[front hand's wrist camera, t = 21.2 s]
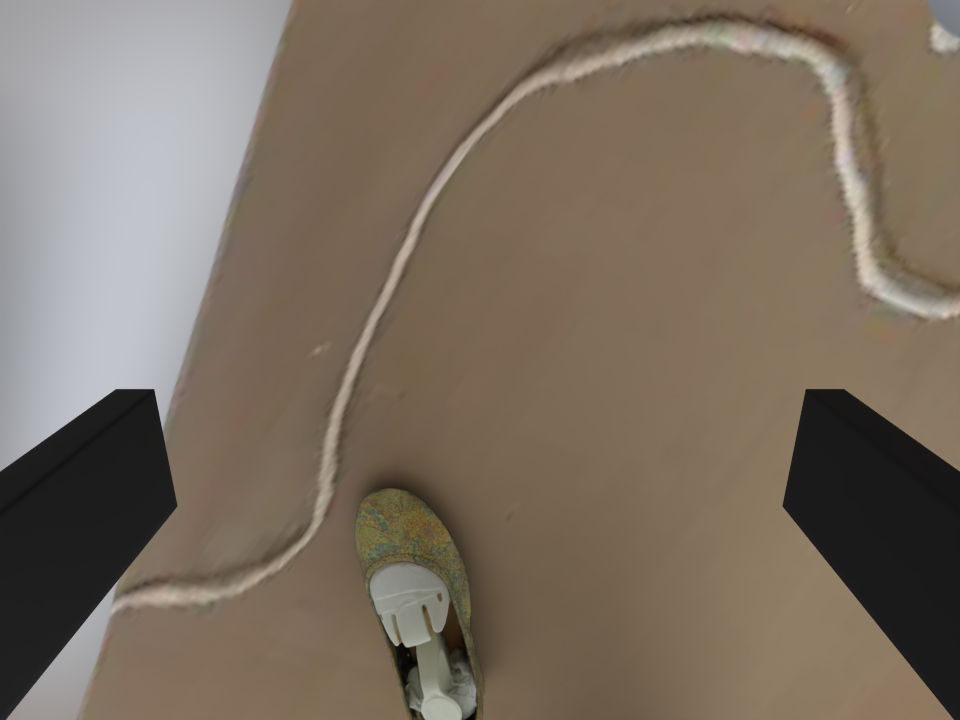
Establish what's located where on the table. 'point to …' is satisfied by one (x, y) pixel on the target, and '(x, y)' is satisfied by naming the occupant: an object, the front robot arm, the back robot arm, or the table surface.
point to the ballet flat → (420, 605)
